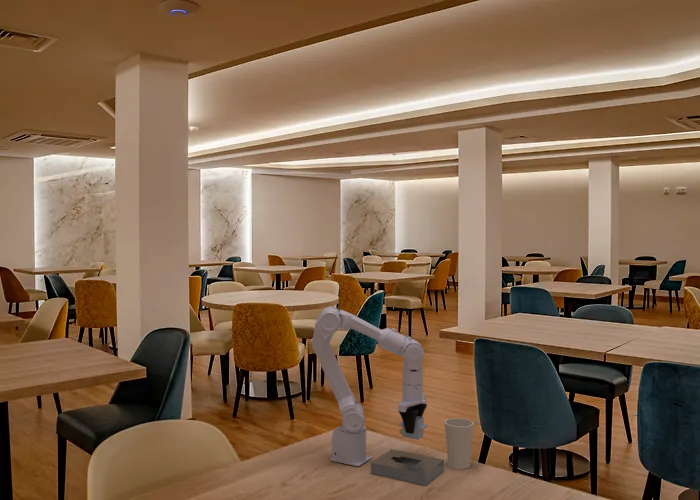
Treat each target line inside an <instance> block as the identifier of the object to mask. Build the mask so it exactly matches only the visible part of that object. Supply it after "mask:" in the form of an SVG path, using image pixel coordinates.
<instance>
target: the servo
mask: <svg viewBox="0 0 700 500" xmlns="http://www.w3.org/2000/svg"><path fill="white" fill-rule="evenodd" d="M398 426H399V427H402V428H400V429H399V435H402V436H401V437H402V438H406V439H410V440H411V439H413V440H417V441H419V440H420V439H422V438H423V437H424V430H425V429H426V428H428V424H427V423H424V416H422V417H419V416H416V420H415V427H414V432H413V434H410V433H406V431H405V427H404V423H403V420H402V421H400V422H399V423H398Z"/></svg>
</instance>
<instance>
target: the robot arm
mask: <svg viewBox="0 0 700 500" xmlns="http://www.w3.org/2000/svg"><path fill="white" fill-rule="evenodd" d="M339 328H341V331H344V330H353V331H356V332H357V333H359V334H362V335H365V336H367V337H369V338H371V339H374V340H376V342H377V345H378V347H380V348H382V349H384V350H386V351H388V352H390V353H392V354H394V355H396V356H399V357H403V366H402V398H401V400H400V403H399V404H397V410H398V411H397V412H398V413H399V415H400V418H401V419H402V420H403V423H404V427H405V431H406V433H410V434H413V432H414V427H415V420H416V416H419V417H424V412H425V410H426V409H427V407H428V406H427V405H428V404H427V403H428V400H427V393H424V392H423V391H424V367H423V364H424V363H423V360H424V358H425V355H426V354H425V350H424V348H423V346H422V345H421V344H420V342H419V341H417V340H416V339H414V338H412V337H411V336H406V335H403V334H401V333H399V332H398V331H397V329H396V328H394V327H392V328H389V327H386V328H383V329H381V328H379V327H377V326H375V325H373V324H371V323H370V322H368V321H366V320H364V319H362V318H360V317H358V316H357V315H355V314H353V313H350V312H348V311H345V310H342V309H338V308H337V307H335V306H331V305H329V306H326V307H324V308H323V309H321V311H320V313H319V314H318V317H317V318H316V321H315V323H314V329H313V333H312V334H313V335H312V341H311V345H312V348H313V350H314V353H315V355H316V357H317V360H318V362H319V364H320V366H321V369H322V371H323V373H324V374H325V377H326V379H327V382H328V384H329V387H330V388H331V390H332V393H333V394H334V397H335V399H336V402H337V405H338V408H339V411H340V412H341V416H342V420H341V421H342V423H341V424H342V425H340V426H339V425H338V426H336V427H335V428H334V430H333V431H332V435H331V457H330V458H329V461H332V462H336V463H341V464H345V465H350V466H353V467H360V466H362V465H364V464H365V463H367V462H368V461H370V460H371V459H372V458H373V456H372V455H368V454H367V426H366V424H365V423H366V418H365V408H364V406H363V405H362V403H360V402H359V401H358V400H357V399H356V397H355V396H354V393H353V391H352V390H351V388H350V385H349V383H348V381H347V379H346V377H345V374H344V373H343V370H342V368H341V366H340V364H339V361H338V359H337V357H336V355H335V352H334V350H333V348H332V346H331V340H332V338H333V336H334V334H335V333H337V331H338V330H339Z"/></svg>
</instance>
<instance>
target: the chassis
mask: <svg viewBox="0 0 700 500" xmlns="http://www.w3.org/2000/svg"><path fill="white" fill-rule="evenodd" d="M444 471H445V460H444V459H442V458H437V457H432V456H427V455H421V454H417V453H412V452H407V451H403V450H398V449H392V448H391V449H390V450H388V451H386V452H384V453H383V454H381V455H380V456H378V457H377V458H376V459H374V460H372V461H371V462H370V474H372V475H376V476H382V477H384V478H388V479H389V478H390V479H393V480H398V481H402V482H408V483H411V484H415V485H420V486H427V485H429V484H430V483H431V482H432V481H433V480H435V479H436V477H438V476H440V474H441V473H443V472H444Z"/></svg>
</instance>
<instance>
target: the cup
mask: <svg viewBox="0 0 700 500" xmlns="http://www.w3.org/2000/svg"><path fill="white" fill-rule="evenodd" d="M474 424H475V423H474V421H472V420H470V419H467V418H463V417H451V418H447V419H445V420H444V432H445V433H444V434H445V439H446V440H445V441H446V442H445V443H446V456H447V459H446V462H447V464H446V465H447V467H449V468H450V469H454V470H466V469H469V468H471V459H472V458H471V457H472V447H473V434H474V433H473V432H474Z"/></svg>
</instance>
